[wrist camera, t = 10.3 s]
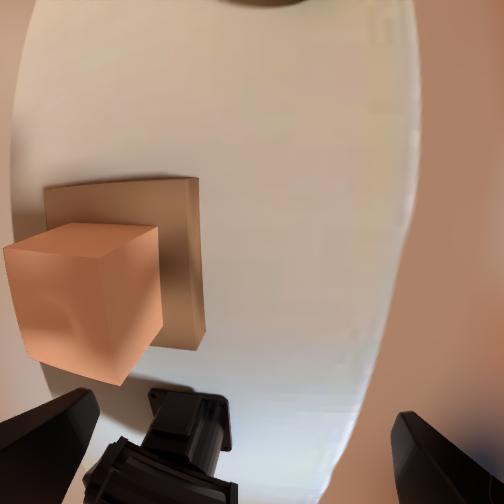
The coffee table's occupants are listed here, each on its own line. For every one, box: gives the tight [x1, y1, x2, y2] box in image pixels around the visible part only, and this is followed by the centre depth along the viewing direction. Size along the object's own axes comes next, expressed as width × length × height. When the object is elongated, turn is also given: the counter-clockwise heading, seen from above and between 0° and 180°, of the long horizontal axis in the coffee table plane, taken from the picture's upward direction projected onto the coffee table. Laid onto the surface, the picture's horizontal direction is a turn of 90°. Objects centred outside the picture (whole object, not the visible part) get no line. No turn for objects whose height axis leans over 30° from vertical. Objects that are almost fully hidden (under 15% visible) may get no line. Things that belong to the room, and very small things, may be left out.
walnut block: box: [44, 178, 206, 351], centre depth 19 cm, size 10×10×3 cm
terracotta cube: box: [3, 223, 163, 386], centre depth 15 cm, size 6×6×6 cm
